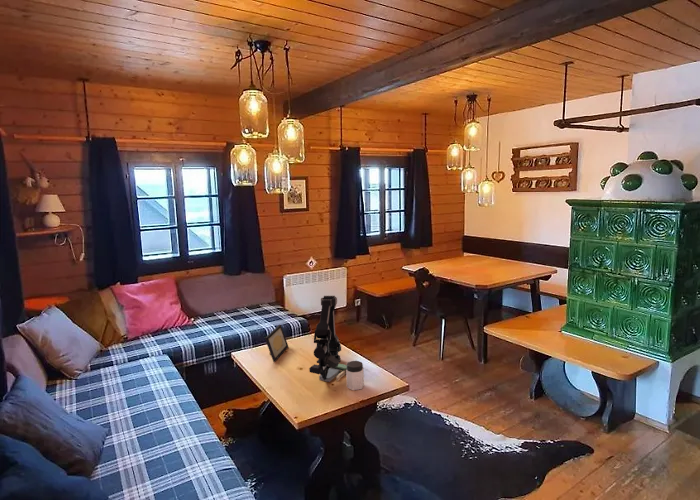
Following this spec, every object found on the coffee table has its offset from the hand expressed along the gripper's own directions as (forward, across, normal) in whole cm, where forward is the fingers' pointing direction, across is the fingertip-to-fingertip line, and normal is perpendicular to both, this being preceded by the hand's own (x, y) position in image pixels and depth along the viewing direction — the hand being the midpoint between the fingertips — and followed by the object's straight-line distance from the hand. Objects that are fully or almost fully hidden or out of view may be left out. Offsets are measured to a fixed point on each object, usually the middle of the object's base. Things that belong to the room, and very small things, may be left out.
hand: (324, 379), depth 226 cm
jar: (+1, +2, -17) cm, 17 cm away
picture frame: (+1, +19, +48) cm, 52 cm away
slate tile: (+2, +7, +1) cm, 7 cm away
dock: (+1, +9, 0) cm, 9 cm away
